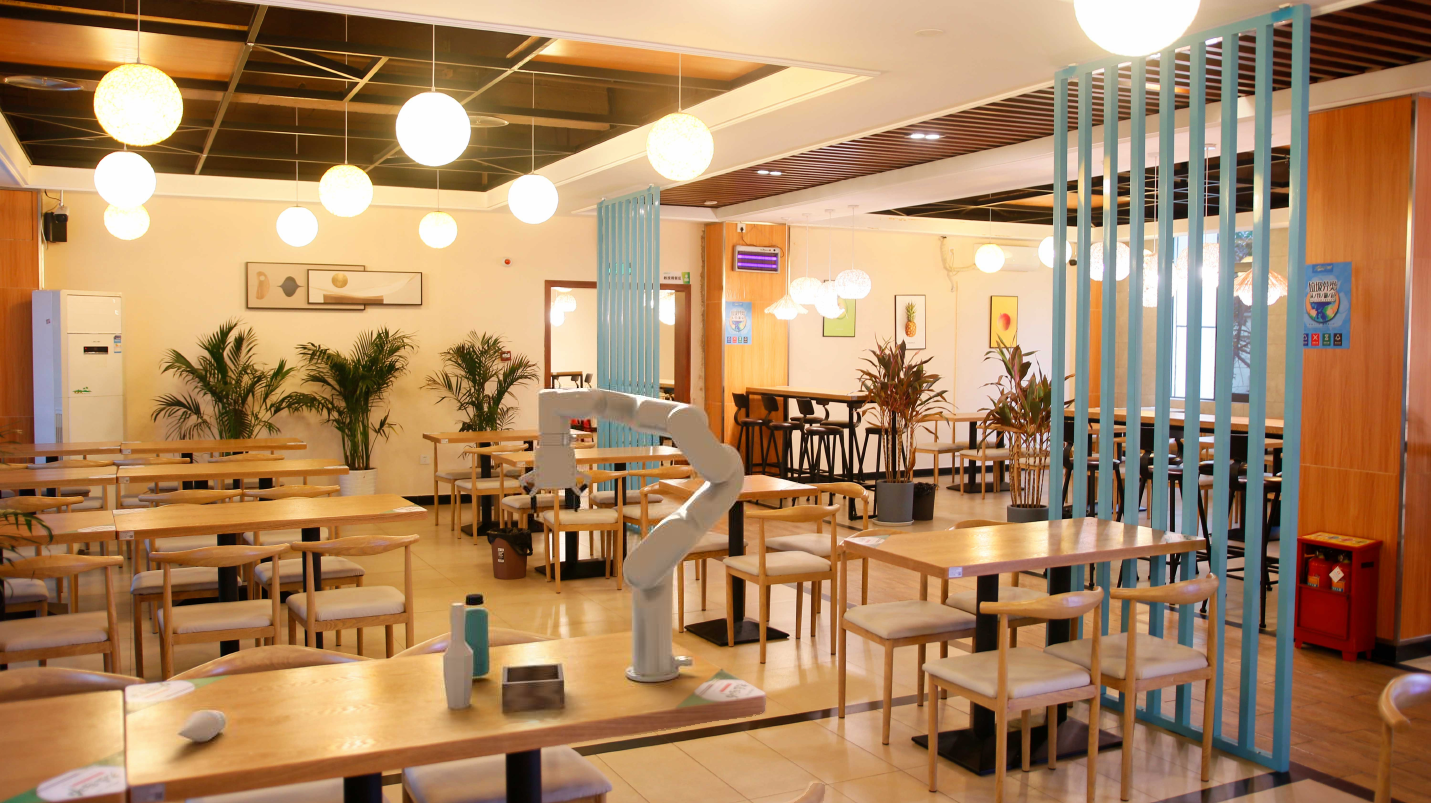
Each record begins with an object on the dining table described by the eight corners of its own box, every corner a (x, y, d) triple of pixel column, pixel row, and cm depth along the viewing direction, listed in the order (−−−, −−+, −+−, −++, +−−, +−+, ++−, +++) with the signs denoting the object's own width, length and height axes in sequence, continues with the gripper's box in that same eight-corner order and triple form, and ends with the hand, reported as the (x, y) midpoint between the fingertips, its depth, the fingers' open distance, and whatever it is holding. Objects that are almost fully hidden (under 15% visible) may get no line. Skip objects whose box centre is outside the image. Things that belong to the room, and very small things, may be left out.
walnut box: (561, 689, 230) (561, 663, 230) (564, 707, 218) (564, 680, 217) (503, 693, 228) (502, 666, 228) (502, 712, 215) (501, 683, 215)
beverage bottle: (493, 675, 241) (492, 591, 241) (484, 684, 235) (483, 597, 234) (467, 674, 242) (465, 591, 242) (457, 683, 236) (456, 597, 235)
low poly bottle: (451, 699, 224) (450, 600, 223) (478, 701, 222) (477, 601, 222) (438, 709, 217) (437, 606, 217) (466, 710, 216) (465, 607, 216)
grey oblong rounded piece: (173, 757, 190) (216, 742, 205) (199, 736, 191) (240, 722, 205) (154, 731, 191) (198, 717, 206) (180, 710, 191) (223, 698, 206)
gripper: (590, 439, 249) (590, 508, 249) (517, 440, 246) (518, 511, 246) (592, 441, 241) (592, 513, 242) (517, 442, 238) (518, 515, 239)
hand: (555, 512), depth 244 cm, fingers open, 9 cm apart
